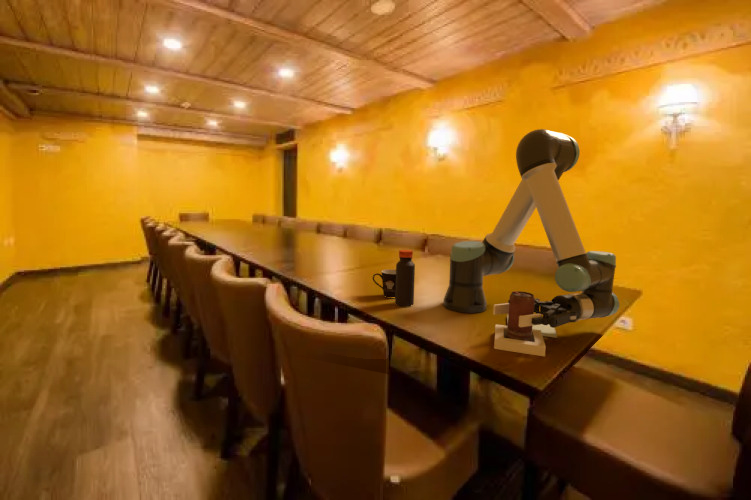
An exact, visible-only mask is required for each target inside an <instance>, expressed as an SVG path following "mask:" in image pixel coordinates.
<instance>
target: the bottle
mask: <svg viewBox="0 0 751 500" xmlns="http://www.w3.org/2000/svg"><path fill="white" fill-rule="evenodd" d="M413 253H414V251H413V250H412V249H411V250H410V249H399V250H398V257H399V260H398V261H397V263H396V264H395V270H396V293H395V298H394V301H395V302H394V303H396V304H397V305H396V304H395V305H396V306H398V305H399V306H398V307H402V306H409V307H412V306H414V303H415V273H416V271H415V270H416V269H415V267H416V265H415V263H414V262H413V260H412V259H413V255H414V254H413ZM411 305H412V306H411Z"/></svg>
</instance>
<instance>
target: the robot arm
mask: <svg viewBox="0 0 751 500" xmlns="http://www.w3.org/2000/svg"><path fill="white" fill-rule="evenodd" d="M579 146H580V145H579V143H578V142H577V140H576V139H575V138H573V137H572V136H570V135H568V134H566V133H563V132H557V131H552V130H548V129H543V128H541V129H539V128H538V129H534V130H532V131H530V132H528V133H526V134H525V135H524V136H523V137H522V138H521V139H520V140H519V142H518V145H517V147H516V149H515V160H516V161H515V162H516V164H517V165H516V166H517V168H518V172H519V175H520V178H521V180H520V182H519V184H518V186H517V188H516V190H514V193H513V195H512V196H511V198H510V200H509V202H508V204H507V205H506V208H505V209H504V211H503V213H502V214H501V217H500V219H499V220H498V222H497V224H496V225H495V227H494V229H493V230H492V232H491V233H487V234H486V235H485V237H484V239H483V240H482V241H478V240H477V241H476V240H475V241H474V240H468V241H460V242H455V243H454V244H453V245H452V246H451V249H450V254H449V258H450V259H449V281H448V287H447V290H446V292H445V294H444V298H443V307H444V308H446V309H448V310H450V311H453V312H458V313H466V314H467V313H468V314H469V313H470V314H475V313H482V312H485V311H486V310H487V299H486V296H485V292H484V291H485V290H484V289H483V284H484V282H483V281H484V277H485V276H492V275H499V274H502V273H504V272H507V271H508V270H509V269H511V267H512V266H513V264H514V261H515V251H516V250H517V249H516V246H515V243H516V242H517V240H518V238H519V237H520V235H521V233H522V231H523V230H524V228H525V227H526V225H527V224H528V221H529V220H530V218H531V217H532V216H533V213H534V212H535V210H537V212H538V215H539V218H540V221H541V224H542V226H543V229H544V232H545V235H546V238H547V240H548V242H549V245H550V248H551V251H552V253H553V256H554V259H555V262H556V265H557V267H558V268H557V269H556V270H555V274H554V281H555V283H556V285H558V287H559V289H561V290H562V291H565V292H568V293H569V292H570V293H569V294H560V295H556V296H554V297H553V298H552V299H551V300H545V301H541V300H540V298H535V302H534V314H531V315H523V316H519V327H527V326H534V325H541V324H543V325H548V324H549V325H550V327H552V328H558V327H560V326H563V325H566V324H569V323H576V322H579V321H580V320H588V319H589V320H590V319H597V318H599V319H601V318H606V317H609V316H612V315H615V314H616V313H617V312H618V311H619V309H620V300H619V298H618V296H617V295H616V294H615V293H614V292H613V288H614V280H615V273H616V268H617V263H616V261H617V257H616V254H615V253H612V252H607V251H598V250H590V251H587V252H586V250H585V248H584V245H583V241H582V239H581V237H580V234H579V232H578V229H577V226H576V224H575V223H576V222H575V221H574V219H573V216H572V213H571V211H570V208H569V206H568V202H567V200H566V198H565V196H564V193H563V190H562V187H561V185H560V182H559V180H560V178H561V177H562V176H563V174H564V173H566V172H568V171H570V170H571V169H573V168H574V167H575V166H576V165H577V163H578V161H579V158H580V152H581V151H580V150H581V149H580V147H579ZM576 292H577V293H576ZM509 300H510V299H508V301H507V302H506V303H498V304H493V311H492V314H493V315H494V316H497V315H508V313H509Z"/></svg>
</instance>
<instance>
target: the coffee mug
mask: <svg viewBox="0 0 751 500" xmlns="http://www.w3.org/2000/svg"><path fill="white" fill-rule="evenodd" d="M376 276H379V277H380V278H381V283H382V285H381V284H379V283H378V282H376V280H375V277H376ZM372 281H373V282H374V284H375V285H377V286H378V287H380V288H381V289H382V291H383V297H384V296H386V297H395V293H396V269H383V270H381V273H374V274H373V276H372ZM386 297H385V298H386Z"/></svg>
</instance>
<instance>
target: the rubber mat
mask: <svg viewBox="0 0 751 500" xmlns="http://www.w3.org/2000/svg"><path fill="white" fill-rule="evenodd" d="M506 320H507V325H506V326H508V314H506ZM532 329H535V330H541V333H542V336H543V337H549V338H556V339H557V337H558V334H557V332H556V327H554V328H552V327H550V325H549V324H548V325H543V324H541V325H534V326H532Z"/></svg>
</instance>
